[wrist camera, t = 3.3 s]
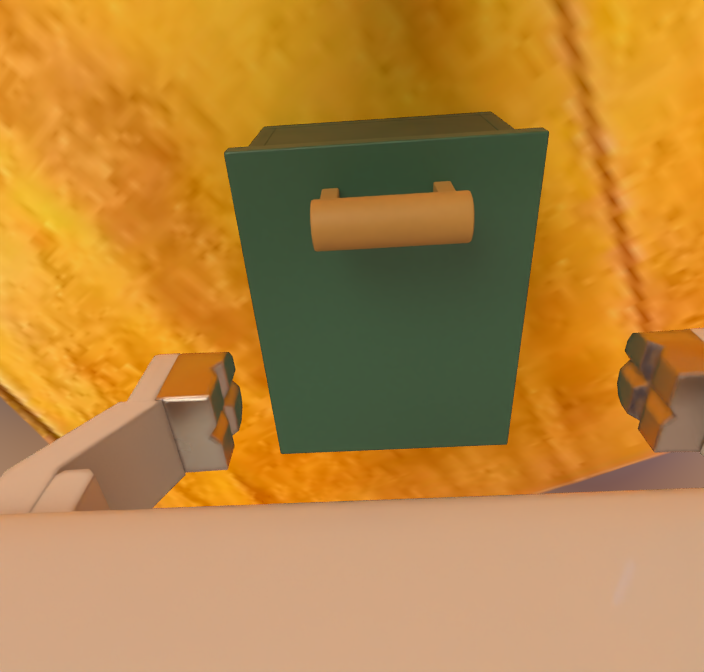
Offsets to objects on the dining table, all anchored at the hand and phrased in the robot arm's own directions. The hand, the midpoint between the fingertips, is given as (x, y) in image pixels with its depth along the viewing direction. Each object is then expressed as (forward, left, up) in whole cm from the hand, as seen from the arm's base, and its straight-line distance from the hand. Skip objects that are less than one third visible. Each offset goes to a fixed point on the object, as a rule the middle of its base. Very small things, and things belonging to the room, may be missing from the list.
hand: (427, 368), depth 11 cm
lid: (+6, -2, -13) cm, 14 cm away
